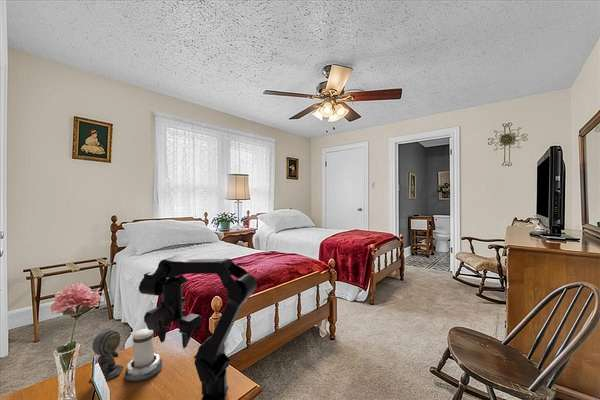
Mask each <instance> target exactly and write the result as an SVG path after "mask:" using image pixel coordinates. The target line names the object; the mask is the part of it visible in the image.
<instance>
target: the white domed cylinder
mask: <svg viewBox="0 0 600 400" xmlns="http://www.w3.org/2000/svg"><path fill="white" fill-rule="evenodd" d="M132 343H133V347H132V348H133V358H134V368H143V367H146V366H149V365H151V364H152V363H154V353H155V345H154V331H153V330H148V327H146V328H142V329H139V330H137V331H135V332H134V333H133V334H132Z"/></svg>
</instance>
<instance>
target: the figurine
mask: <svg viewBox="0 0 600 400" xmlns="http://www.w3.org/2000/svg"><path fill="white" fill-rule="evenodd" d="M120 343H121V334H120V332H119V331H117V330H115V329H105V330H104V331H101V332H100V333H99V334H97V335H96V336H95V338H94V339H93V341H92V346H91V347H92V351H93V353H95V354H96V355H98V358H97V359H98V363H99V365H100V367H101V370H102V372H103V374H104V376H105V379H106V381H107V382H109V381H111V380H114V379H116V378H118V377H120V375H121V373H122V371H123V370H124V366H123V365H122V364H117V363H116V361H115V358H119V353H118V352H117V351H116V350H117V348H118V347H119V345H120ZM88 382H89V383H92V382H91V377H90V379H89V381H88Z"/></svg>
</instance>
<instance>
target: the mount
mask: <svg viewBox="0 0 600 400" xmlns="http://www.w3.org/2000/svg"><path fill="white" fill-rule="evenodd" d="M162 369H163V360H162V359H161V358H160V354H158V353H156V352H154V363H152V364H151V365H149V366H146V367H143V368H134V357H133V358H132V359H131V360H130V361H129V362H127V368H126V369H125V372H124V378H125V380H126V381H128V382H129V383H140V382H144V381H147V380H150V379H152V378H154V377H155V376H157V375H158V374H159V372H161V370H162Z"/></svg>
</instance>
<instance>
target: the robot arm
mask: <svg viewBox="0 0 600 400" xmlns="http://www.w3.org/2000/svg"><path fill="white" fill-rule="evenodd" d="M186 274H187V275H190V274H191V275H195V274H197V275H200V274H201V275H217V277H219V278H220V281H221V284H222V286H223V287H224V289H226V290H227V294H226V299H227V301H226V305H225V307H224V310H223V312H222V313H221V316H220V318H219V320H218V323H217V324H216V326H215V329H214V331H213V333H212V334H211V336H209V337H208V338H207V339H206V340H205V341H204V342H203V343H202V344H201V345H199V347H198V350H197V352H196V354H195V356H193V358H194V359H195V360H194V362H193V363H194V366H195V369H196V373H197V376H198V378H199V382H201V395H202V397H201V398H202V399H201V400H225V399H226V398H225V397H226V394H227V390H228V386H229V383H228V382H227V381H228V380H227V378H228V377H227V368H229V366H230V364H231V359H230V358H229V357H228V356H227V354H226V352H225V350H226V347H225V342H226V341H227V338H228V335H230V332H231V330H232V327H233V326H234V325H235V324H234V323H235V321H236V320H237V317H238V315H239V313H240V311H241V310H242V308H243V305H244V304H245V303H246V301H247V300H248V299H249V298H250V297H251V296H252V294H253V293H254V291H256V289H257V286H258V282H257V280H256V278H255V276H253V275H252V274H250V273H249V272H248V271H247V270H246V269H244V268H243V267H241V266H240V265H237V264H235V261H233V260H232V259H230V258H226V257H225V258H206V259H204V258H203V259H201V258H198V259H196V258H195V259H193V258H189V257H187V256H183V255H177V254H176V255H173V256H171V257H167V258H165V259H164V258H163V259H161V260H160V261H159V263H158V264H157V268H156V270H155V271H154V273H153V272H146V273H144V274H143V277H142V279H141V281H140V282H139V285H138V291H139V293H140V294H142V295H147V296H148V295H149V296H158V297H159V296H161V298H162V299H161V301H158V302H159V303H158V306H157V307H155V308H153V309H150V310H149V311H146V313H145V314H144V316H143V319H144V321H143V322H144V324H145V325H146V328H148V330H153V332H156V334H157V337H158V339H159V341H160V343H164V342H165V339H166V337H167V328H168V326H169V325H170V324H171V323H172V322H173V323H178V328H179V330H178V332H179V333H180V334H181V339H182V341H181V343H182V348H183V349H185V348H187V347H188V344H189V343H190V340H191V337H192V335H193V333H194V331H195V329H196V328H198V327H199V326H201V325H202V324H203V316H202V315H200V314H197V313H196V314H195V313H190V314H188V315H186V316H183V315H185V314H186V309H183V302H184V301H186V297H184V296H183V285H184V284H186V283H188V279H187V278H186V277H185V276H184V275H186ZM232 276H233V277H234V278H237V279H234V278H233V277H232Z"/></svg>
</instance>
